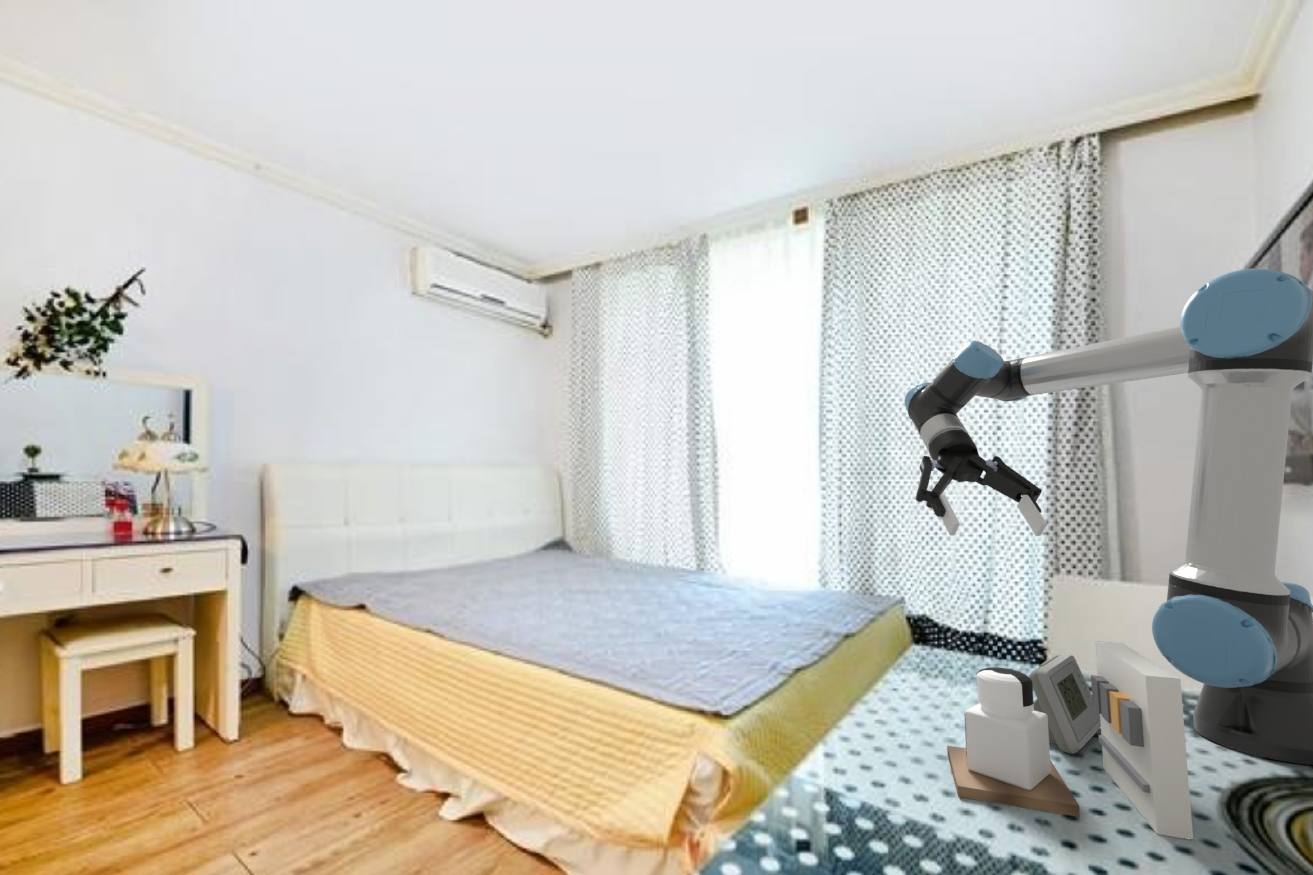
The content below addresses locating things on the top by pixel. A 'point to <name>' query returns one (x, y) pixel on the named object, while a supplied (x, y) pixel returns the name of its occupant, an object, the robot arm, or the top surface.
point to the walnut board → (1011, 788)
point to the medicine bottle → (1007, 730)
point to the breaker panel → (1143, 736)
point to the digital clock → (1065, 702)
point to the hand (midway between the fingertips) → (998, 530)
